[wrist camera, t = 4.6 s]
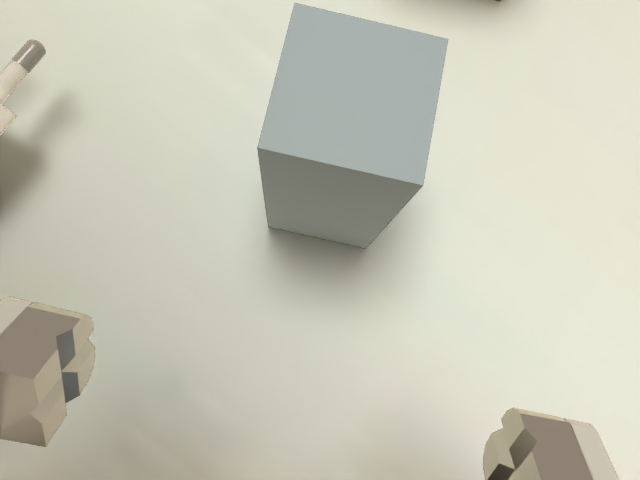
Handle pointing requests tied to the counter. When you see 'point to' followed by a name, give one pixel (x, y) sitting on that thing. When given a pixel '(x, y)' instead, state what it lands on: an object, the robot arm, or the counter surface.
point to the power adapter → (17, 76)
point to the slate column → (347, 125)
